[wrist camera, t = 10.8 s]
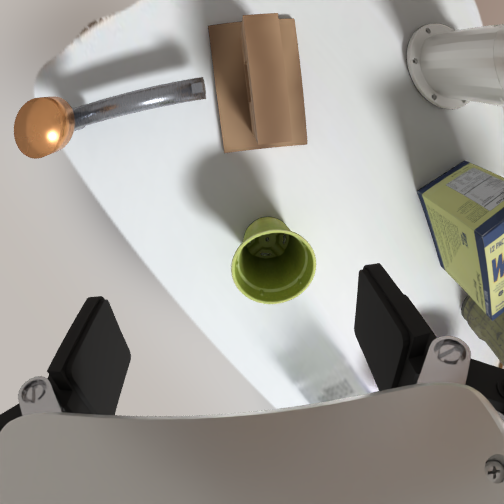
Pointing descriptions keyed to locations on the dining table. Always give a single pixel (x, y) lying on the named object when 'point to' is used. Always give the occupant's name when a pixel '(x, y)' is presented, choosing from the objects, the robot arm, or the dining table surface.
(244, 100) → the eye block
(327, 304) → the dining table surface
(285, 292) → the plant pot
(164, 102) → the hook rod
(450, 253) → the protein box
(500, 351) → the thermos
